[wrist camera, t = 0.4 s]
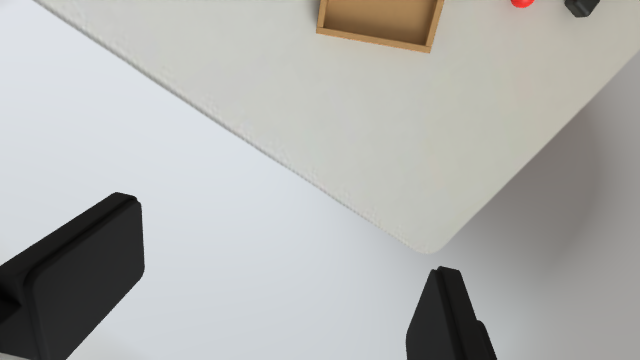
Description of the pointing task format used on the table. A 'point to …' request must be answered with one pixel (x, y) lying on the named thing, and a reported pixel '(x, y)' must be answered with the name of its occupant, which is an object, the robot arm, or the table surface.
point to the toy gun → (579, 3)
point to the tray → (382, 21)
